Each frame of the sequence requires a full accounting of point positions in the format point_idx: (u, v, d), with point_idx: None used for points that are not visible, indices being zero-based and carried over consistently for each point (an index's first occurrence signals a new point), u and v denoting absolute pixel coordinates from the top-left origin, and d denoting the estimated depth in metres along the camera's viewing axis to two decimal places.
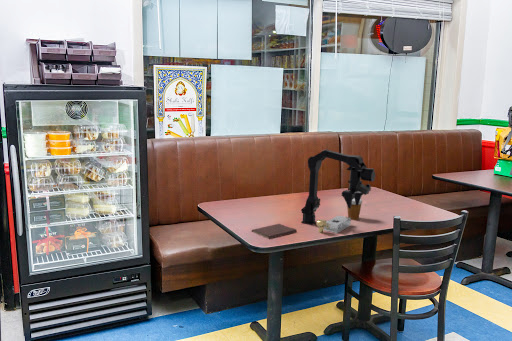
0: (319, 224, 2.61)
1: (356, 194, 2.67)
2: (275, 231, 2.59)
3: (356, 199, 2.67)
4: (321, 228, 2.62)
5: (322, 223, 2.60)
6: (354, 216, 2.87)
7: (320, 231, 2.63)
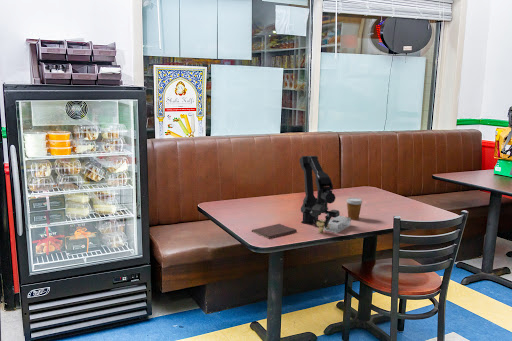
0: (319, 224, 2.61)
1: None
2: (275, 231, 2.59)
3: None
4: (321, 228, 2.62)
5: (322, 223, 2.60)
6: (354, 216, 2.87)
7: (320, 231, 2.63)
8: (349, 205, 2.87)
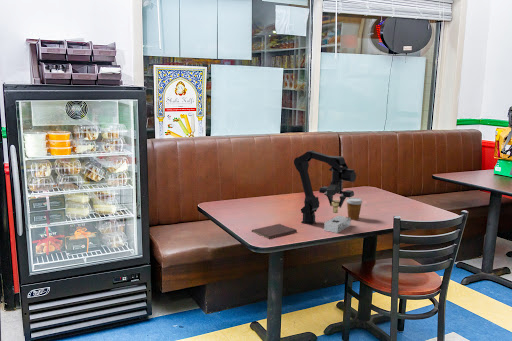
0: (333, 204, 2.65)
1: None
2: (275, 231, 2.59)
3: None
4: (335, 208, 2.66)
5: (336, 203, 2.64)
6: (354, 216, 2.87)
7: (334, 211, 2.66)
8: (349, 205, 2.87)
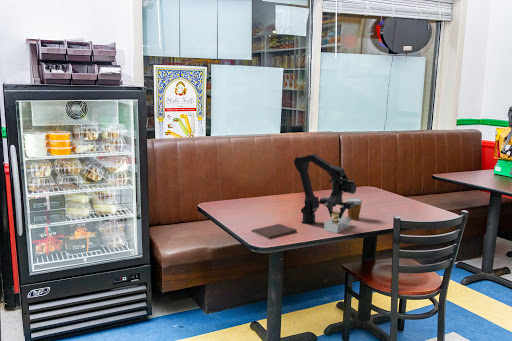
0: (334, 215, 2.66)
1: None
2: (275, 231, 2.59)
3: None
4: (336, 219, 2.68)
5: (337, 214, 2.66)
6: (354, 216, 2.87)
7: None
8: None
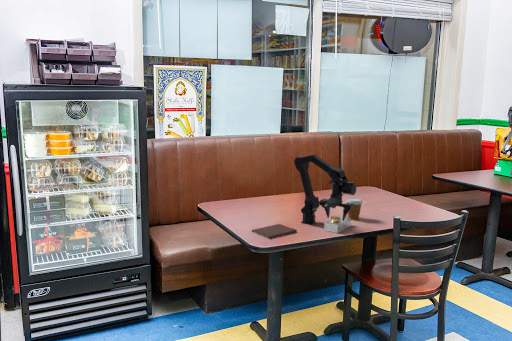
0: (334, 220, 2.67)
1: None
2: (275, 231, 2.59)
3: None
4: None
5: (336, 219, 2.66)
6: (354, 216, 2.87)
7: None
8: None
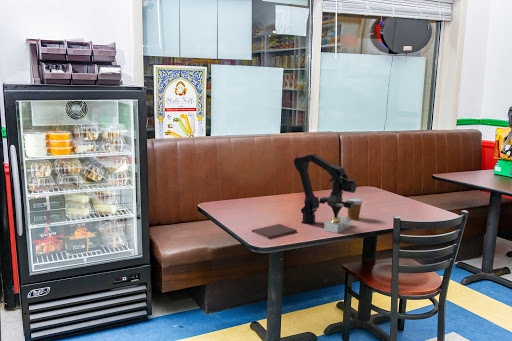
0: (334, 220, 2.67)
1: None
2: (275, 231, 2.59)
3: None
4: None
5: (336, 219, 2.66)
6: (354, 216, 2.87)
7: None
8: None
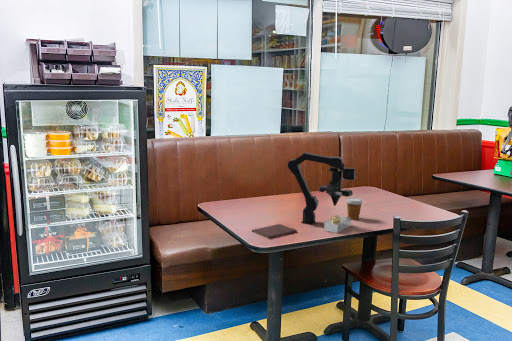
0: (334, 220, 2.67)
1: None
2: (275, 231, 2.59)
3: None
4: None
5: (336, 219, 2.66)
6: (354, 216, 2.87)
7: None
8: (349, 205, 2.87)
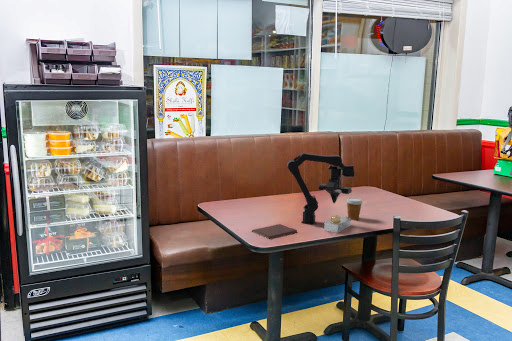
0: (334, 220, 2.67)
1: None
2: (275, 231, 2.59)
3: None
4: None
5: (336, 219, 2.66)
6: (354, 216, 2.87)
7: None
8: (349, 205, 2.87)
